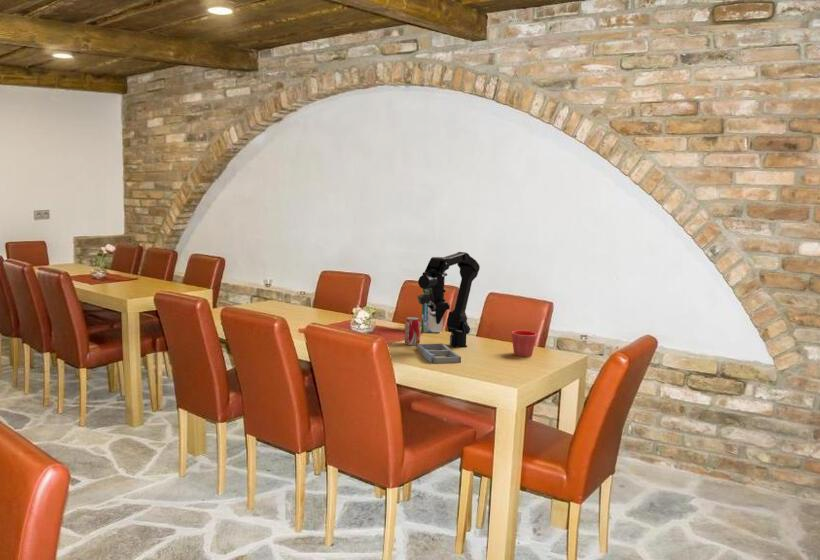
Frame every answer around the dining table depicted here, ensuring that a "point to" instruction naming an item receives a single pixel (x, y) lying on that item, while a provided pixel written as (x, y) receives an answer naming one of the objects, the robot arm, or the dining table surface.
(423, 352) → the grey divided tray
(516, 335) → the flower pot
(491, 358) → the dining table surface
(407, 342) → the soda can
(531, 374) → the dining table surface
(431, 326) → the cylinder
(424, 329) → the milk carton
